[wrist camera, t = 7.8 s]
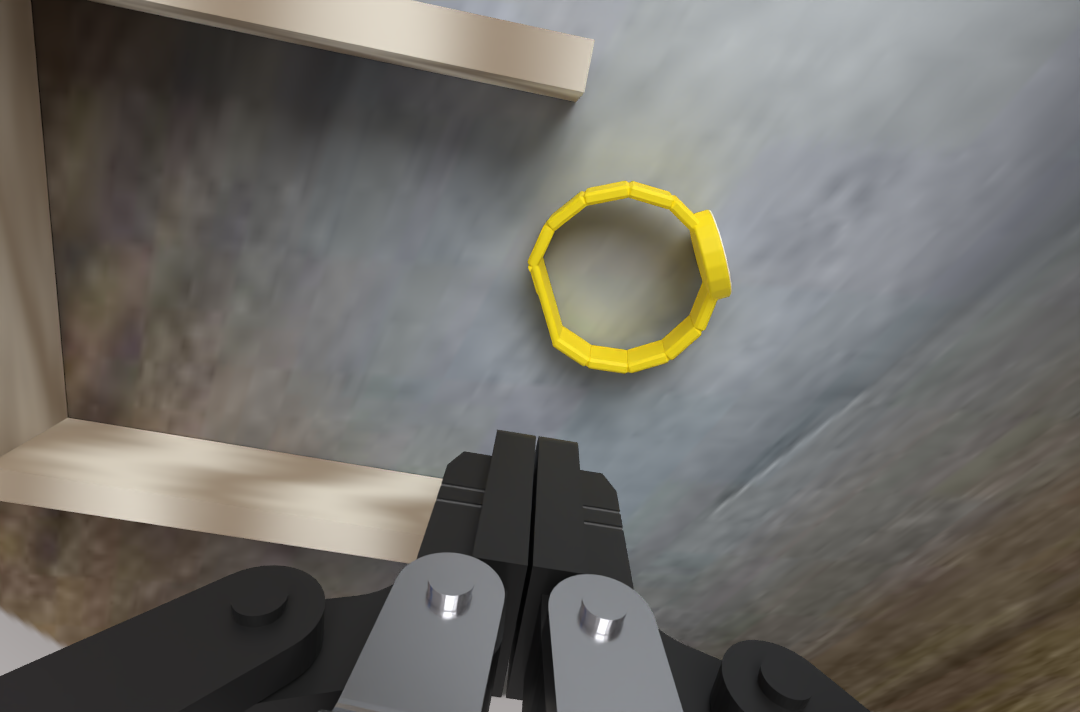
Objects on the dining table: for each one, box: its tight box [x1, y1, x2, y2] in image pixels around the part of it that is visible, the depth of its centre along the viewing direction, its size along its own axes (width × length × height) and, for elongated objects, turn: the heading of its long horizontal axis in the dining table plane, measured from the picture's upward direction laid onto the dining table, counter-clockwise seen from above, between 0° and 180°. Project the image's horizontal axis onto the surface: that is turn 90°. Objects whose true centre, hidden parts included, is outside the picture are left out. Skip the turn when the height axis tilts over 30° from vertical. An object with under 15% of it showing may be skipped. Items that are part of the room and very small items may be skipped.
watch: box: [528, 181, 732, 374], centre depth 19 cm, size 6×3×6 cm
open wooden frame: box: [0, 0, 595, 563], centre depth 18 cm, size 17×16×4 cm
